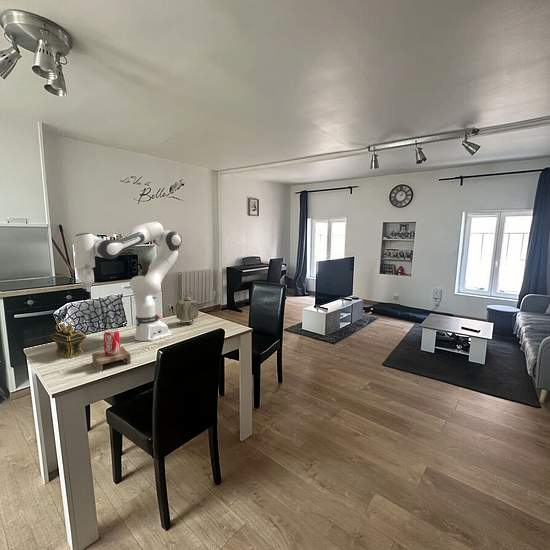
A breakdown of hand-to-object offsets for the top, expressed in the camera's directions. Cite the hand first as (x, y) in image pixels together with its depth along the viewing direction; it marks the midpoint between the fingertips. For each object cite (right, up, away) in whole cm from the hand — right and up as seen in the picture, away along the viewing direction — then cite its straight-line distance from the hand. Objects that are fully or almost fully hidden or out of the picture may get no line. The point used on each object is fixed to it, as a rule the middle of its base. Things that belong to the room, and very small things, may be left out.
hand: (86, 290), depth 151 cm
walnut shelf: (+17, -37, -7) cm, 41 cm away
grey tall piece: (+36, -29, +60) cm, 76 cm away
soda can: (+18, -32, -7) cm, 37 cm away
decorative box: (-13, -35, +4) cm, 37 cm away
